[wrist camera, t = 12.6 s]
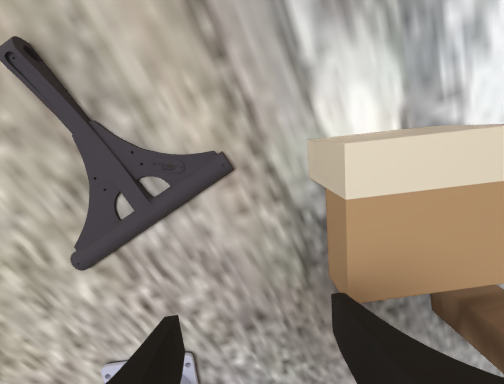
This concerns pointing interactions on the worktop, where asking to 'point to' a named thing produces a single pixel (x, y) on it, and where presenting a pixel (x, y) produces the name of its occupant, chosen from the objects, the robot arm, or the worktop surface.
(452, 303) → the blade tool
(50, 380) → the worktop surface
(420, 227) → the tan block
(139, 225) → the bracket
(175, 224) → the worktop surface
